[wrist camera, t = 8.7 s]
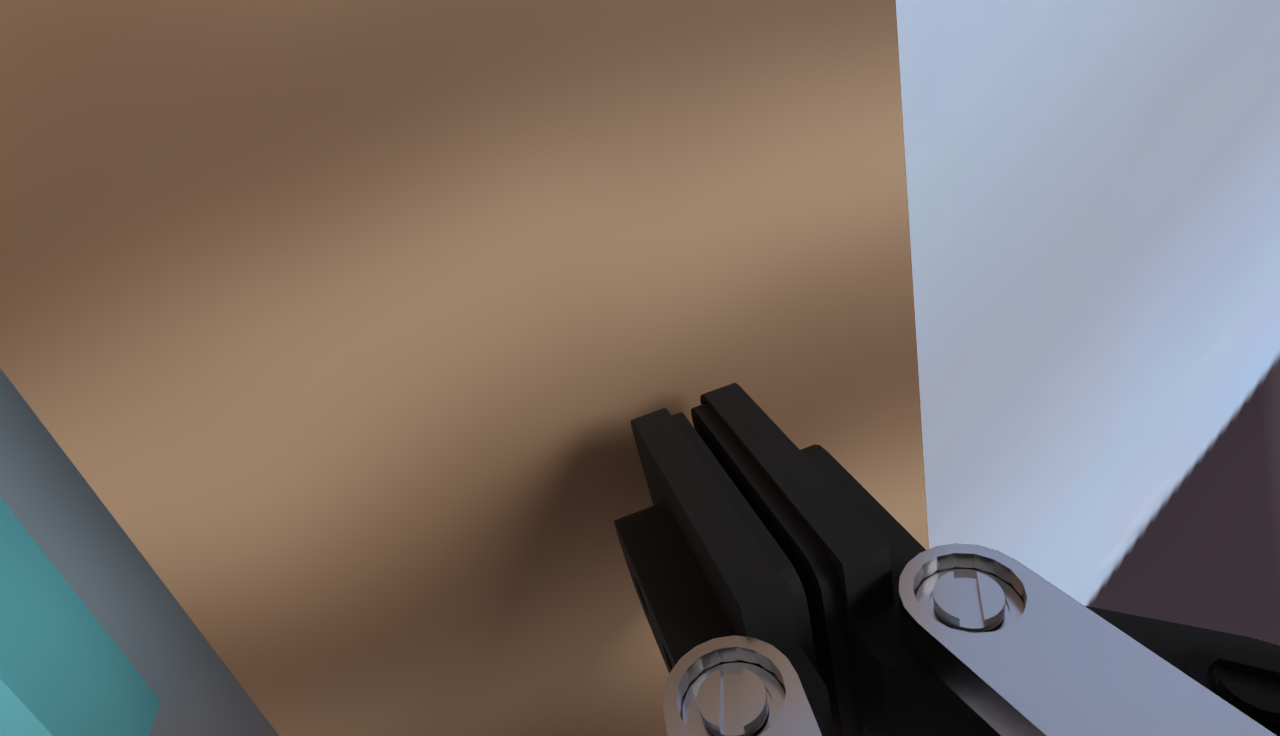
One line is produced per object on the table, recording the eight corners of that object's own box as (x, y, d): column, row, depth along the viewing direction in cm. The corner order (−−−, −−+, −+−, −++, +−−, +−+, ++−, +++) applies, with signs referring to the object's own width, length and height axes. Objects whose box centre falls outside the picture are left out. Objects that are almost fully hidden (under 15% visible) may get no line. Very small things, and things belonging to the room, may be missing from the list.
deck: (-115, -106, 9) (-419, -185, 6) (724, -291, 11) (868, -438, 8) (439, 785, 19) (446, 956, 15) (849, 609, 21) (939, 726, 17)
